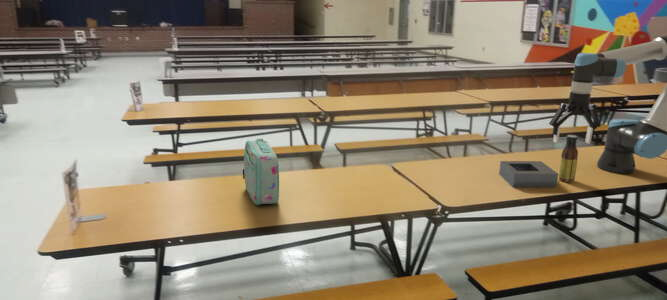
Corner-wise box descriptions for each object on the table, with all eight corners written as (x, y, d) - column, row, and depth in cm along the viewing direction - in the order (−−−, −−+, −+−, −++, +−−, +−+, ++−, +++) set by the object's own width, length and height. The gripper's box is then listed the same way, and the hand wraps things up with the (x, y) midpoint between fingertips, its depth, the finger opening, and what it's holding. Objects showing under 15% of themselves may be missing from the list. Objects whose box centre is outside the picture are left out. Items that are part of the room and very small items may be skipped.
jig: (539, 174, 208) (541, 161, 206) (556, 187, 193) (558, 173, 191) (499, 173, 208) (500, 161, 206) (512, 187, 192) (514, 173, 191)
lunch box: (241, 185, 192) (239, 135, 186) (266, 182, 196) (264, 132, 189) (254, 211, 168) (252, 154, 162) (282, 207, 172) (281, 151, 165)
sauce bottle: (571, 178, 203) (578, 134, 197) (576, 183, 197) (584, 138, 191) (555, 177, 204) (562, 133, 198) (560, 182, 198) (568, 137, 192)
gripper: (605, 91, 193) (596, 140, 199) (545, 89, 192) (538, 139, 199) (616, 94, 186) (606, 145, 192) (554, 93, 185) (546, 144, 192)
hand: (571, 142), depth 195 cm, fingers open, 13 cm apart
